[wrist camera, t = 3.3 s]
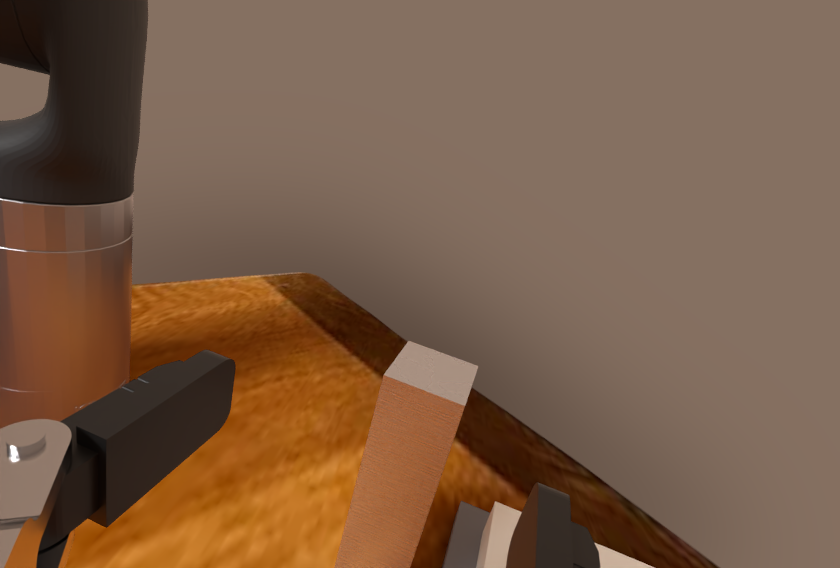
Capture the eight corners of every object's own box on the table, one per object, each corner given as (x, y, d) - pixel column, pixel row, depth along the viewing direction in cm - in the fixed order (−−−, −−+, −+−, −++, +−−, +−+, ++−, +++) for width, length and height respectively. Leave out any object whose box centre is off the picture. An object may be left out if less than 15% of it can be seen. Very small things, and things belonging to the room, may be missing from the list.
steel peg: (325, 601, 27) (383, 374, 21) (353, 546, 31) (408, 340, 25) (388, 631, 26) (464, 406, 21) (408, 571, 30) (478, 366, 24)
